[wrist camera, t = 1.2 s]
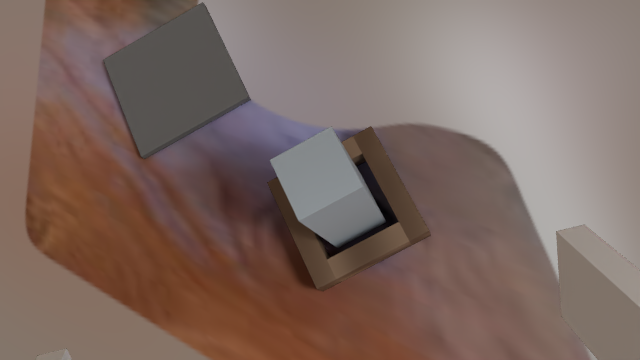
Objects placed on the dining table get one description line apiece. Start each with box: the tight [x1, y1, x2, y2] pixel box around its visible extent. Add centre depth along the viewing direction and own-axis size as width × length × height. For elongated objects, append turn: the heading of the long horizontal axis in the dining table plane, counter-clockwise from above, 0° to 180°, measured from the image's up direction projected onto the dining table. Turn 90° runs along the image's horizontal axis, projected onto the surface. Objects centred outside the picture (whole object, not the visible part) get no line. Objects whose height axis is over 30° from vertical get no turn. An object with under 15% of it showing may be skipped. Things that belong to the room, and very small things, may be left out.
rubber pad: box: [103, 3, 251, 159], centre depth 49 cm, size 10×10×1 cm
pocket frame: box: [267, 126, 430, 291], centre depth 42 cm, size 9×9×2 cm
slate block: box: [270, 127, 386, 248], centre depth 38 cm, size 4×4×11 cm
